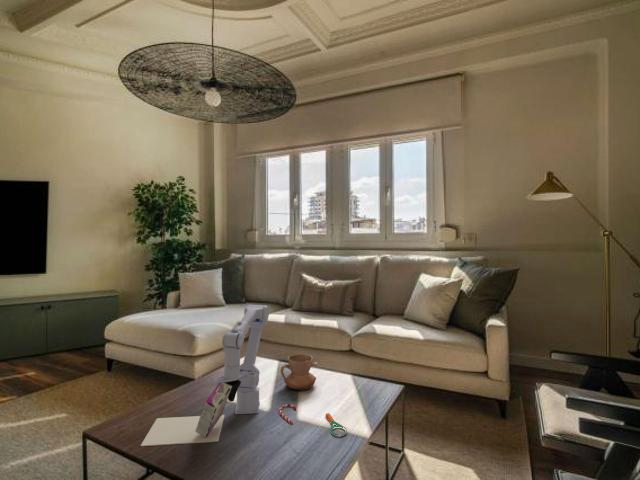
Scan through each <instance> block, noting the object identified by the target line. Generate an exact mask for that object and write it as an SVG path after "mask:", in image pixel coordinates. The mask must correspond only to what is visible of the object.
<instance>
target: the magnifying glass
mask: <svg viewBox="0 0 640 480" xmlns="http://www.w3.org/2000/svg"><path fill="white" fill-rule="evenodd" d="M325 417H326V419H327V418H328V419H329V420H328V419H327V420H328V422H329V421H330V422H331V424H330V430H331V432H332V433H333V434H335V435H338V434H339V433H335V432H334V431H332V429H333V428H334V427H342V428H343V427H344V428H345V429H346V432H348V430H347V428H346V427H345V426H343V425H342V424H340V423H339V422H337V421H335V419H334V418H333V416H332V415H331V413H329V412H327V413H325ZM330 422H329V423H330ZM333 424H336V425H337V426H333ZM331 432H330V433H331ZM343 433H344V432H343ZM343 433H341V434H342V435H343ZM344 434H345V433H344Z"/></svg>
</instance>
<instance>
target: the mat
mask: <svg viewBox="0 0 640 480" xmlns="http://www.w3.org/2000/svg"><path fill="white" fill-rule="evenodd" d="M200 416H201V415H197V416H196V415H195V416H194V415H193V416H192V415H191V416H177V417H176V416H175V417H172V416H171V417H158V418H156V419H155V421H154V422H153V424H152V426H151V427H150V430H149V431H148V433H147V434H146V436H145V438H144V439H143V441H142V442H141V444H140V447H153V446H155V447H156V446H169V445H170V446H171V445H187V444H201V443H214V442H215V443H216V442H219V440H220V437H221V436H220V435H221V432H222V429H223V428H222V427H223V424H224V420H225V414H222V416H221V417H220V418H219V420H218V421H217V423H216V424H215V426H214V427H213V429H212V430H211V432H210V433H209V434H208V436H207V437H204V436H202V435H201V434H199V433H197V432H196V428H197V425H198V422H199V419H200Z"/></svg>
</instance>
